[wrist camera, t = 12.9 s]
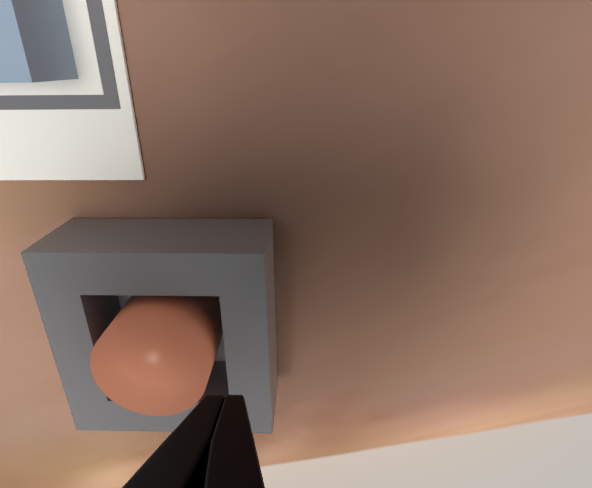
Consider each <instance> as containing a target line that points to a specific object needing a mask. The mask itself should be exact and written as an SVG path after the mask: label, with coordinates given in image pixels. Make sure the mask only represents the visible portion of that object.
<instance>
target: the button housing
mask: <svg viewBox="0 0 592 488" xmlns="http://www.w3.org/2000/svg"><path fill="white" fill-rule="evenodd" d="M21 254H22V258H23V261H24V264H25V267H26V270H27V274H28V277H29V280H30V283H31V286H32V289H33V293H34V296H35V299H36V302H37V305H38V309H39V312H40V315H41V318H42V321H43V324H44V328H45V331H46V334H47V337H48V340H49V344H50V347H51V350H52V353H53V356H54V359H55V363H56V366H57V369H58V372H59V375H60V379H61V382H62V385H63V388H64V391H65V394H66V398H67V401H68V404H69V407H70V410H71V414H72V417H73V420H74V423H75V426H76V429H77V430H110V431H163V432H173V431H174V430H175V429H176V428H177V426H178V425H179V424H180V423H181V422H182V421H183V420H184V419H185V418H186V417H187V415H188V414H189V413H190V412H191V411H192V410H193V409H194V408H195V407H196V405H197V404H198V403H199V402H200V401H201V400H202V399H203V398H204V397H205V396H206V395H208V394H222V395H224V396H226V395H243V396H244V398H245V403H246V407H247V411H248V416H249V420H250V425H251V429H252V433H269V434H272V433H273V423H274V413H275V403H276V392H277V382H278V362H277V333H276V304H275V275H274V246H273V219H206V218H72V219H70V220H69V221H67V222H66V223H64V224H63V225H61V226H60V227H58V228H57V229H55V230H54V231H52V232H51V233H49V234H48V235H47V236H45V237H44V238H42V239H41V240H39V241H38V242H36V243H35V244H33V245H32V246H30V247H29V248H27V249H26V250H24V251H23V252H21ZM132 295H133V296H215V297H216V299H217V300H218V301H219V303H220V309H221V319H222V329H223V335H222V338H221V342H220V345H219V348H218V351H217V354H216V357H215V361H214V364H213V367H212V370H211V373H210V376H209V380H208V383H207V386H206V389H205V392H204V394H203V396H202V397H201V398H200V400H199V401H198V402H197V403H196V404H195V405H193V406H192V407H191V408H189V409H187V410H185V411H183V412H180V413H178V414H174V415H168V416H149V415H143V414H139V413H135V412H133V411H130V410H127V409H125V408H123V407H121V406H120V405H118V404H116V403H115V402H113V401H112V400H111V399H109V398H108V397H107V396H106V395H105V394H104V393H103V392H102V391H101V390H100V388H99V387H98V385H97V384H96V382H95V380H94V378H93V376H92V373H91V369H90V356H91V352H92V349H93V347H94V345H95V343H96V342H97V341H98V339H99V338H100V337H101V335H102V334H103V333H104V331H105V330H106V329H107V327H108V326H109V325H110V323H111V322H112V321H113V319H114V318H115V317H116V315H117V314H118V313H119V311H120V310H121V309H122V308H123V306H124V305H125V304H126V302H127V301H128V300H129V298H130V297H131V296H132Z"/></svg>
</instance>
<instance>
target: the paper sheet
mask: <svg viewBox="0 0 592 488" xmlns="http://www.w3.org/2000/svg"><path fill="white" fill-rule="evenodd" d="M62 2H63V7H64V12H65V16H66V21H67V26H68V31H69V35H70V40H71V45H72V49H73V54H74V59H75V64H76V68H77V73H78V78H79V79H70V80H58V81H46V82H34V83H0V180H145V174H144V168H143V162H142V156H141V149H140V143H139V137H138V131H137V125H136V119H135V113H134V106H133V100H132V94H131V88H130V82H129V76H128V70H127V64H126V57H125V51H124V45H123V39H122V33H121V27H120V21H119V15H118V8H117V2H116V0H62Z"/></svg>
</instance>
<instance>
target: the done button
mask: <svg viewBox="0 0 592 488" xmlns="http://www.w3.org/2000/svg"><path fill="white" fill-rule="evenodd" d="M222 335H223V329H222V319H221V309H220V303H219V301H218V300H217V299H216V297H215V296H133V295H132V296H131V297H130V298H129V300H128V301H127V302H126V304H125V305H124V306H123V308H122V309H121V310H120V311H119V313H118V314H117V315H116V317H115V318H114V319H113V321H112V322H111V323H110V325H109V326H108V327H107V329H106V330H105V331H104V333H103V334H102V335H101V337H100V338H99V339H98V341H97V342H96V343H95V345H94V347H93V349H92V352H91V356H90V369H91V373H92V376H93V378H94V380H95V382H96V384H97V385H98V387H99V388H100V390H101V391H102V392H103V393H104V394H105V395H106V396H107V397H108V398H109V399H111V400H112V401H113V402H115V403H116V404H118V405H120V406H121V407H123V408H125V409H127V410H130V411H133V412H135V413H139V414H143V415H149V416H168V415H174V414H178V413H180V412H183V411H185V410H187V409H189V408H191V407H192V406H193V405H195V404H196V403H197V402H198V401H199V400H200V398H201V397H202V396H203V394H204V392H205V389H206V386H207V383H208V380H209V376H210V373H211V370H212V367H213V364H214V361H215V357H216V354H217V351H218V348H219V345H220V342H221V338H222Z"/></svg>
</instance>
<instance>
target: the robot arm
mask: <svg viewBox="0 0 592 488" xmlns="http://www.w3.org/2000/svg"><path fill="white" fill-rule="evenodd" d="M122 488H265V487H264V482H263V478H262V474H261V469H260V465H259V460H258V456H257V451H256V447H255V442H254V438H253V434H252V429H251V425H250V420H249V416H248V411H247V407H246V403H245V398H244V396H243V395H226V396H224V395H222V394H208V395H206V396H205V397H204V398H203V399H202V400H201V401H200V402H199V403H198V404H197V405H196V407H195V408H194V409H193V410H192V411H191V412H190V413H189V414H188V415H187V417H186V418H185V419H184V420H183V421H182V422H181V423H180V424H179V425H178V426H177V428H176V429H175V430H174V431H173V432H172V433H171V434H170V435H169V436H168V438H167V439H166V440H165V441H164V442H163V443H162V444H161V445H160V446H159V448H158V449H157V450H156V451H155V452H154V453H153V454H152V455H151V456H150V457H149V459H148V460H147V461H146V462H145V463H144V464H143V465H142V466H141V467H140V469H139V470H138V471H137V472H136V473H135V474H134V475H133V476H132V477H131V479H130V480H129V481H128V482H127V483H126V484H125V485H124V486H123V487H122Z"/></svg>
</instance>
